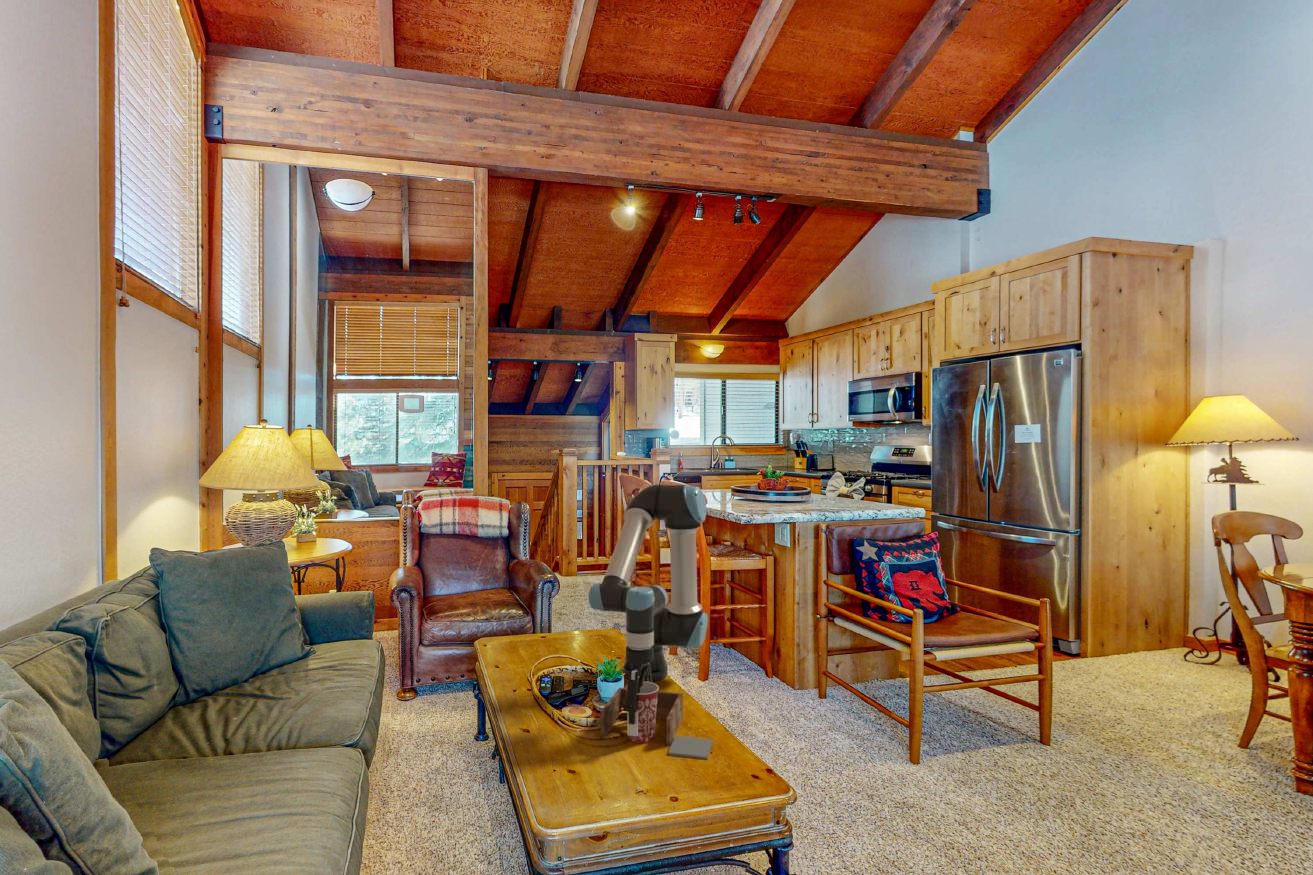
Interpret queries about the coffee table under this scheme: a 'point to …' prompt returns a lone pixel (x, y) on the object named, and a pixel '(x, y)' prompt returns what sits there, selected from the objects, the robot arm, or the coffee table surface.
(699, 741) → the pad
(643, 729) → the mug
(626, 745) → the coffee table surface
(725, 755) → the coffee table surface
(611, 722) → the wooden u-shaped barrier
